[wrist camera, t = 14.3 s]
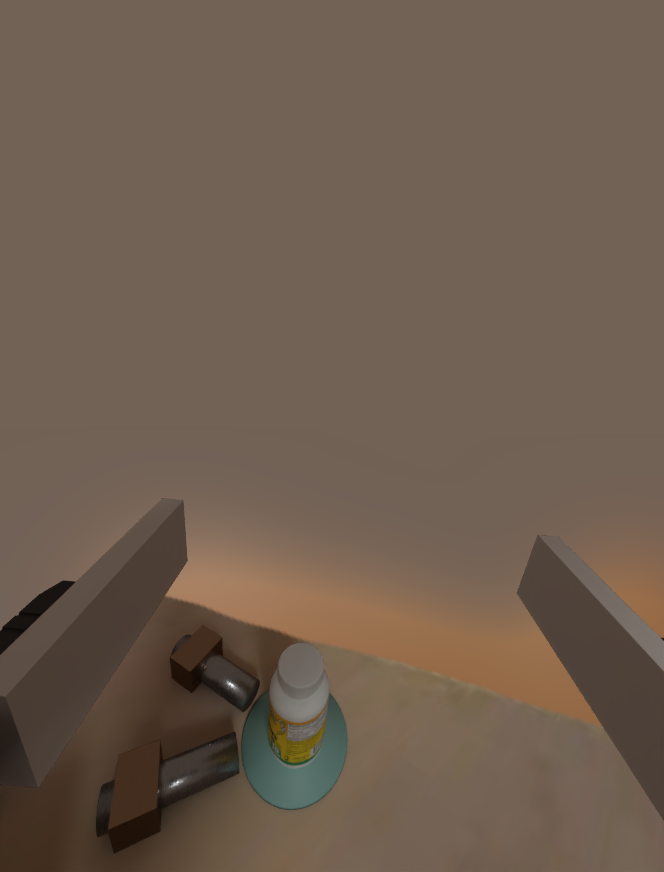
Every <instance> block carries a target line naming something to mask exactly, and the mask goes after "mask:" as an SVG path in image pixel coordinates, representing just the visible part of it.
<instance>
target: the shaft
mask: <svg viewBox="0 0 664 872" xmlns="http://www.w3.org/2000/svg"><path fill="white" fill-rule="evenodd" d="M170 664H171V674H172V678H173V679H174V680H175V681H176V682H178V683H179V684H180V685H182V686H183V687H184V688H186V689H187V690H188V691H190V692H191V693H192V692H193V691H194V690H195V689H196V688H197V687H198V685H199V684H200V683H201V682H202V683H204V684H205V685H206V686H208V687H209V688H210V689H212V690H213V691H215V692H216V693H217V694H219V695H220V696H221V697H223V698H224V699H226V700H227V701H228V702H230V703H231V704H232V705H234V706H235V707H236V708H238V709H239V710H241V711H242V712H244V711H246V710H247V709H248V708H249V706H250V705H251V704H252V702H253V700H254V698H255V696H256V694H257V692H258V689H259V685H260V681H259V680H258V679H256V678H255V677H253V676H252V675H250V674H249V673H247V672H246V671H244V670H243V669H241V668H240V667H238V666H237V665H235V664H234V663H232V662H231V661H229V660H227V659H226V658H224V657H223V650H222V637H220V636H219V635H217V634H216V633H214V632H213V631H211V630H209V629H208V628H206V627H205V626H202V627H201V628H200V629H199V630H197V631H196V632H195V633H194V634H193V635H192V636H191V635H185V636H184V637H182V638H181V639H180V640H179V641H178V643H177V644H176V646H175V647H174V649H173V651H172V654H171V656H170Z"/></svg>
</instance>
